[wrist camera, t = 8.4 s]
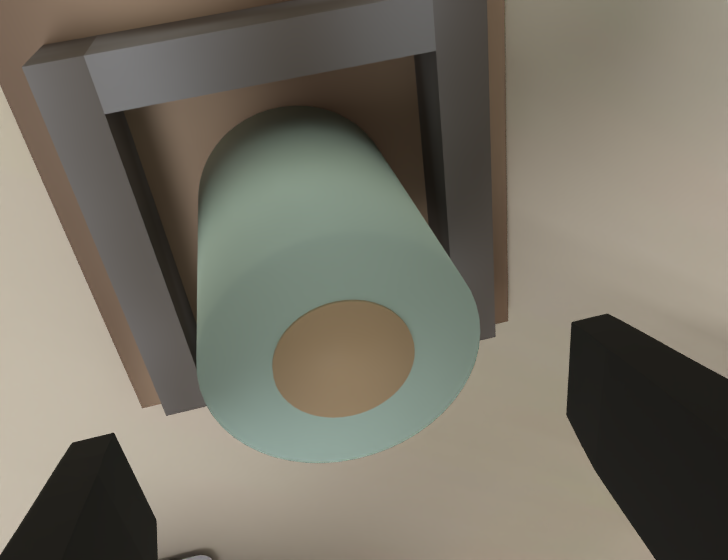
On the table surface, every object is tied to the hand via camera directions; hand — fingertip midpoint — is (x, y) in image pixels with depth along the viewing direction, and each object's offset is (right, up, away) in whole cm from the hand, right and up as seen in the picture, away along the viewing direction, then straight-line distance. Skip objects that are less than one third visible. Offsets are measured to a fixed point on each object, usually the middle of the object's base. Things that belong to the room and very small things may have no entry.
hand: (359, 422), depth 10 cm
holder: (-2, +5, +8) cm, 9 cm away
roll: (-2, +4, +7) cm, 9 cm away
